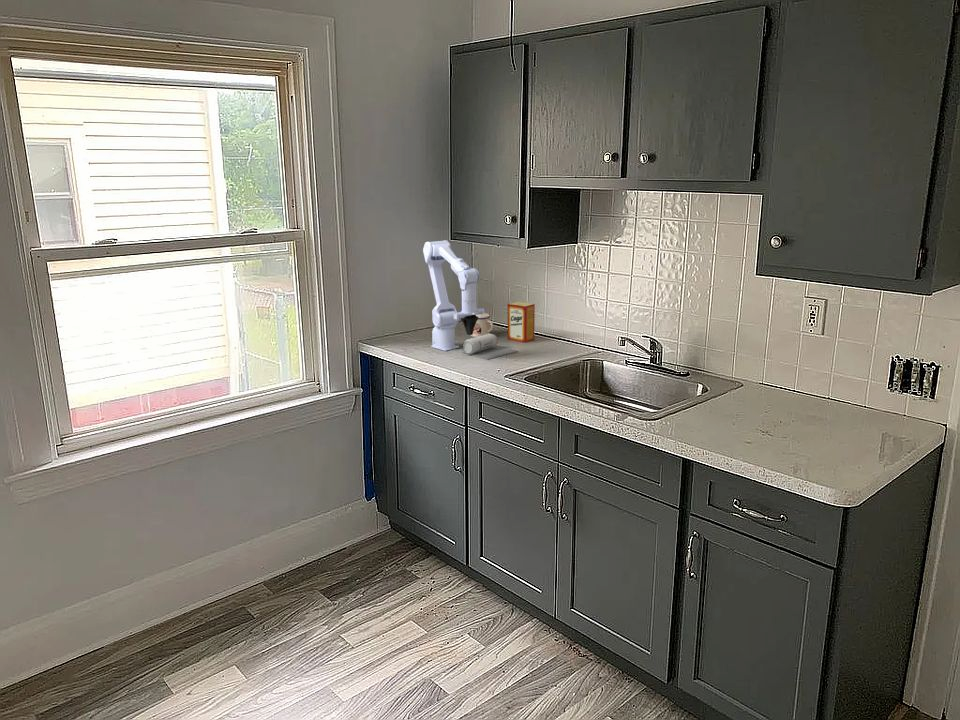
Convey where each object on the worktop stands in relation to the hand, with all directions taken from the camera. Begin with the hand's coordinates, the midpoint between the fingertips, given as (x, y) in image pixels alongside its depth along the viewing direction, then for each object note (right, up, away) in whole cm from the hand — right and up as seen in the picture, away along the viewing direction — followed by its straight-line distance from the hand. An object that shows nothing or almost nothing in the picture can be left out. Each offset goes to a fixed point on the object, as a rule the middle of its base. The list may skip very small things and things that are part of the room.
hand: (469, 334), depth 291 cm
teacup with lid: (+5, +1, +37) cm, 37 cm away
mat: (+8, -7, +10) cm, 14 cm away
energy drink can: (-1, -5, +4) cm, 7 cm away
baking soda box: (+22, -1, +30) cm, 37 cm away
